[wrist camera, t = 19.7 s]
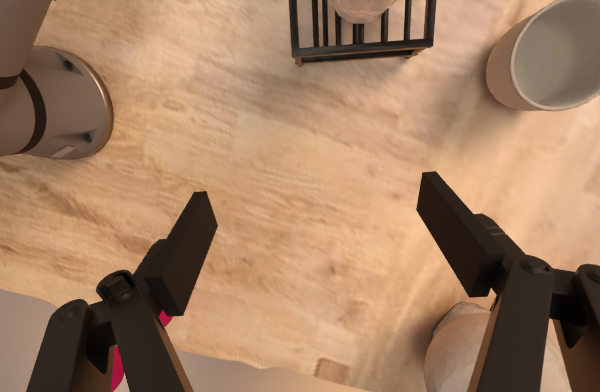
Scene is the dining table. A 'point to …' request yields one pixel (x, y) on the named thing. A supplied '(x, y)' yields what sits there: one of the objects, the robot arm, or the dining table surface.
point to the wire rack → (359, 38)
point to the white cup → (361, 9)
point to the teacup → (549, 58)
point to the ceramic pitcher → (476, 353)
